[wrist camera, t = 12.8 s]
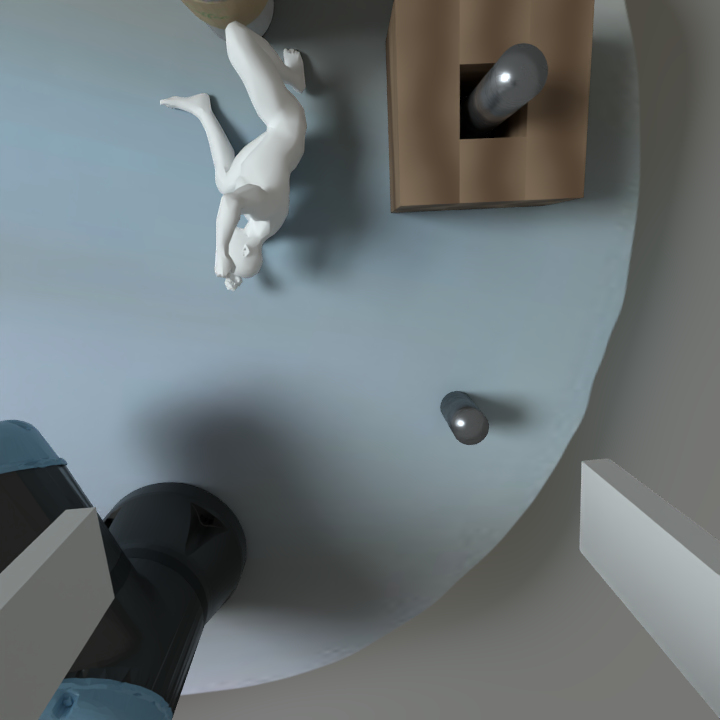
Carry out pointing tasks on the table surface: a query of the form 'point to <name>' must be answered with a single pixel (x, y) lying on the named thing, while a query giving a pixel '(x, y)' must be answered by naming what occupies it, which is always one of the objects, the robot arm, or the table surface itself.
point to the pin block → (459, 78)
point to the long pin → (503, 90)
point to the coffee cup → (233, 14)
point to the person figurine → (253, 152)
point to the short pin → (464, 418)
